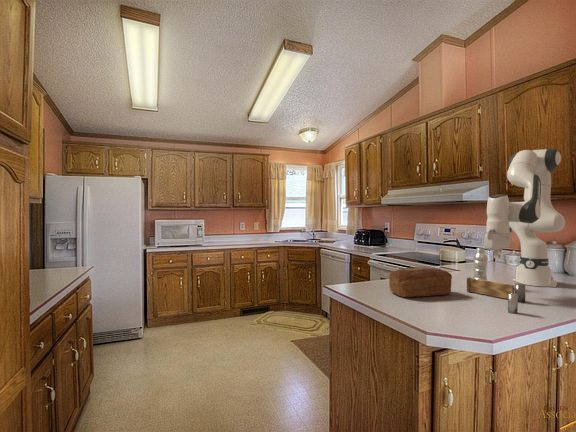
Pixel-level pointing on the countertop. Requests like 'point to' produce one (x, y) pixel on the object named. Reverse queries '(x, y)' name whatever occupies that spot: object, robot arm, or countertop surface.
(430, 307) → the countertop surface
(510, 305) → the stop post
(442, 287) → the bread
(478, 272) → the plastic bottle
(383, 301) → the countertop surface
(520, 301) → the pivot post
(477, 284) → the gate
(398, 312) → the countertop surface
